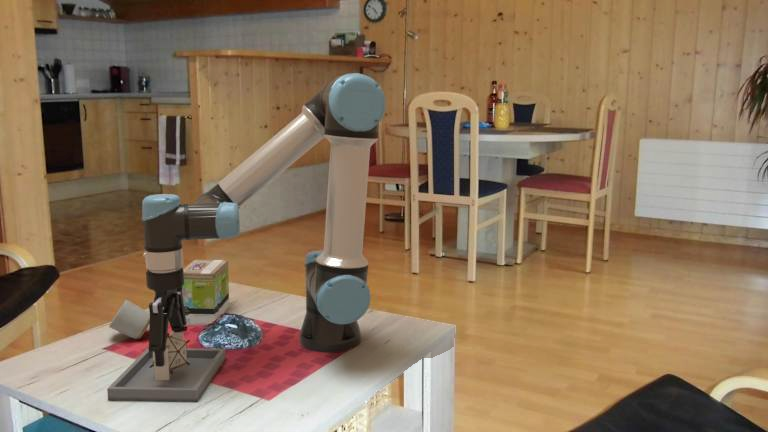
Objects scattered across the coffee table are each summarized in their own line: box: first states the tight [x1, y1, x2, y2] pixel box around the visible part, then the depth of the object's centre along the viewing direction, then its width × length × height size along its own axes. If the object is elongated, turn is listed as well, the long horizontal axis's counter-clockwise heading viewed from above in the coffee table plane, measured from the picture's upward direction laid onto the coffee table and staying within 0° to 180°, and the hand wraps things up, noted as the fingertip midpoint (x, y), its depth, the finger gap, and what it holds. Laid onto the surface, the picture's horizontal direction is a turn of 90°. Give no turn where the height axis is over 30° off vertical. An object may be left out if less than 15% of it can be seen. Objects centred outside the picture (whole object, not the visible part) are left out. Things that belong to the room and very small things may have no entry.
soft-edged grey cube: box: [108, 299, 150, 340], centre depth 173 cm, size 11×8×8 cm
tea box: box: [182, 259, 230, 326], centre depth 187 cm, size 15×10×15 cm
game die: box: [149, 332, 191, 375], centre depth 148 cm, size 9×8×10 cm
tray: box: [106, 347, 226, 403], centre depth 148 cm, size 18×22×2 cm
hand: (170, 369), depth 148 cm, fingers open, 9 cm apart
